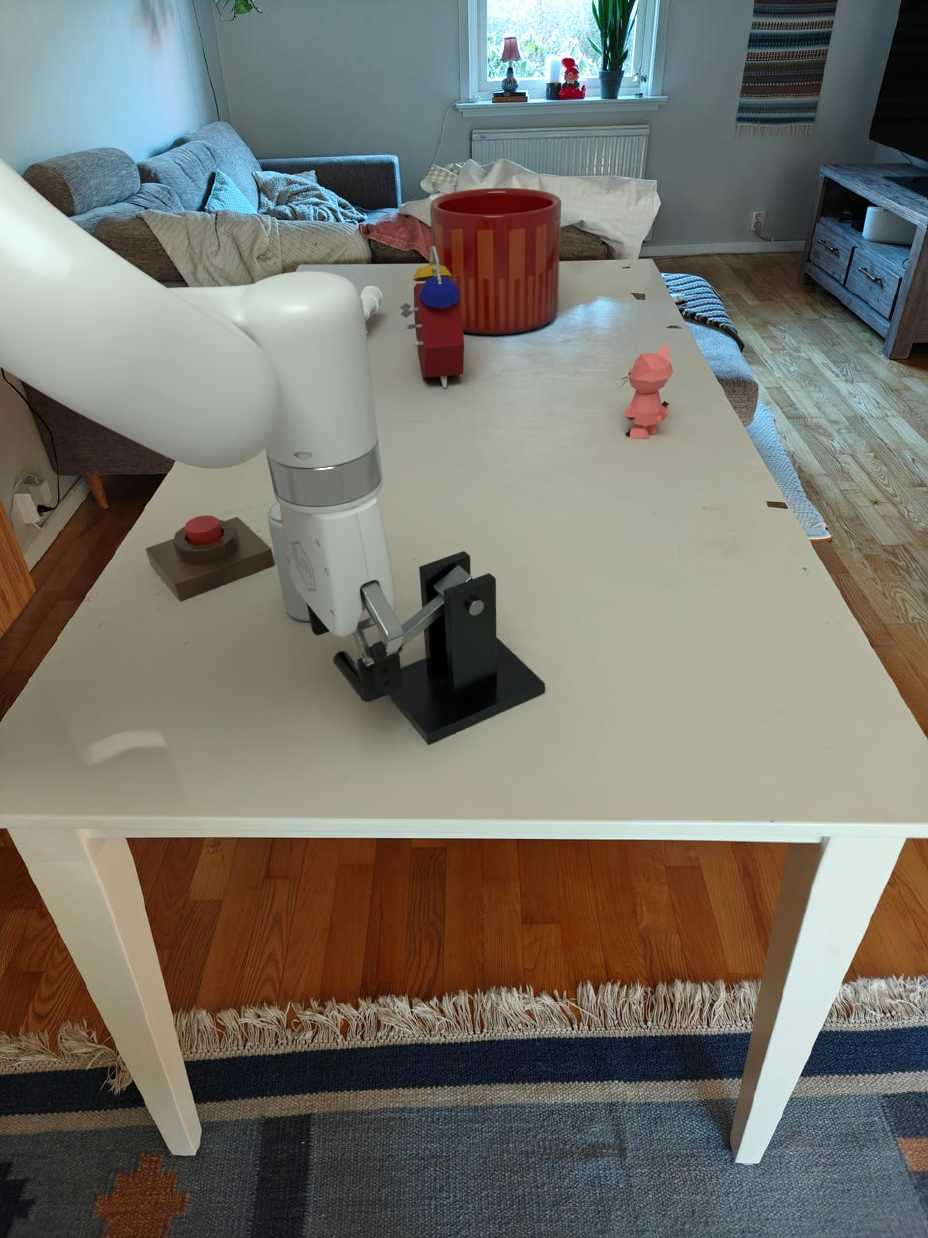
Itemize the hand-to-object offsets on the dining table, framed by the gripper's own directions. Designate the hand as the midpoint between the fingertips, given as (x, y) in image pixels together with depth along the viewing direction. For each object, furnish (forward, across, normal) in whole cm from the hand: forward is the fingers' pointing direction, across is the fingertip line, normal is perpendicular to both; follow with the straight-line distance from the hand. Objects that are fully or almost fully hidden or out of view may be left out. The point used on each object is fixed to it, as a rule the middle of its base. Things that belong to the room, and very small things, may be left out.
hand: (355, 659), depth 68 cm
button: (+4, -33, -3) cm, 34 cm away
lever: (0, 0, +5) cm, 5 cm away
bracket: (+8, 0, +10) cm, 13 cm away
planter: (+9, -86, +69) cm, 111 cm away
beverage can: (+8, -19, +3) cm, 21 cm away
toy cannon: (+9, -94, +44) cm, 104 cm away
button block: (+8, -33, -3) cm, 34 cm away
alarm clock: (+9, -67, +45) cm, 81 cm away
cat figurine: (+9, -32, +58) cm, 67 cm away
